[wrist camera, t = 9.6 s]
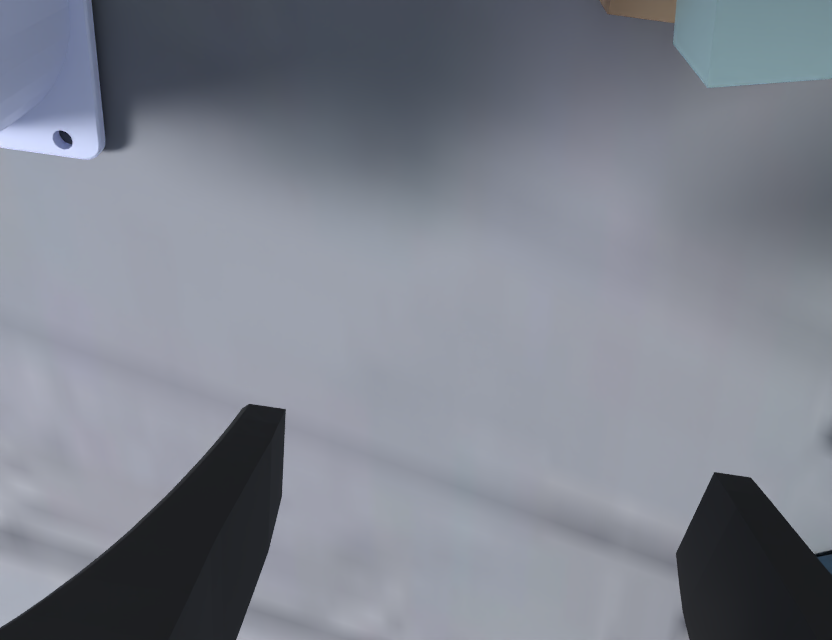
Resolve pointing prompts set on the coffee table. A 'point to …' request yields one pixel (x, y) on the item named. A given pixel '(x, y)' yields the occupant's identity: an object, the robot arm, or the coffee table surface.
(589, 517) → the coffee table surface
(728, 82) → the tower top
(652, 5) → the tower base
